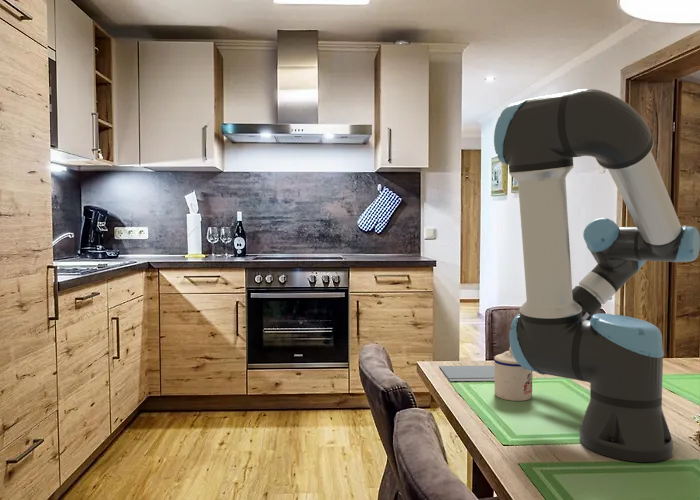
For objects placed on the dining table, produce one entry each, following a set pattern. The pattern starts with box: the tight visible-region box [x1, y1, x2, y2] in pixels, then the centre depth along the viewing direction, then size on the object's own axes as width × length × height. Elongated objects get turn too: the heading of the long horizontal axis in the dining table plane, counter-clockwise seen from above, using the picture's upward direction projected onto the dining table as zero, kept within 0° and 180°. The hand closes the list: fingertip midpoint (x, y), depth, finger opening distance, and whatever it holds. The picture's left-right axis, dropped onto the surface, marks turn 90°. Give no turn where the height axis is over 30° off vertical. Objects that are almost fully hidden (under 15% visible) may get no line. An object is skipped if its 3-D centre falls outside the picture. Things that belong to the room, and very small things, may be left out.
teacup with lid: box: [493, 347, 533, 402], centre depth 130 cm, size 12×9×12 cm
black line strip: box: [448, 378, 495, 383], centre depth 142 cm, size 2×21×1 cm, turn 91°
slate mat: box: [438, 365, 495, 380], centre depth 150 cm, size 13×20×1 cm, turn 91°
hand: (528, 357), depth 131 cm, fingers open, 13 cm apart
